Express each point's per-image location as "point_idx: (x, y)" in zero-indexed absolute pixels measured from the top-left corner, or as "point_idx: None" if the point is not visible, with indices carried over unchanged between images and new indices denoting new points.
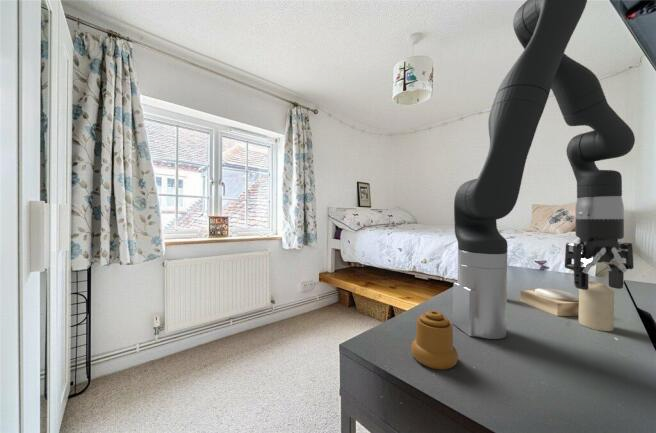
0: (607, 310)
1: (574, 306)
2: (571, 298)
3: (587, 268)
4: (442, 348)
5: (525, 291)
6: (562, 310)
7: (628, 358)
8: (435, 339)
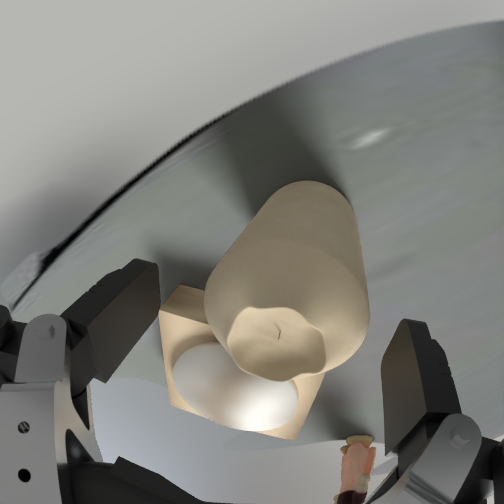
0: (324, 207)
1: None
2: None
3: (449, 454)
4: None
5: (290, 433)
6: None
7: (494, 61)
8: None
